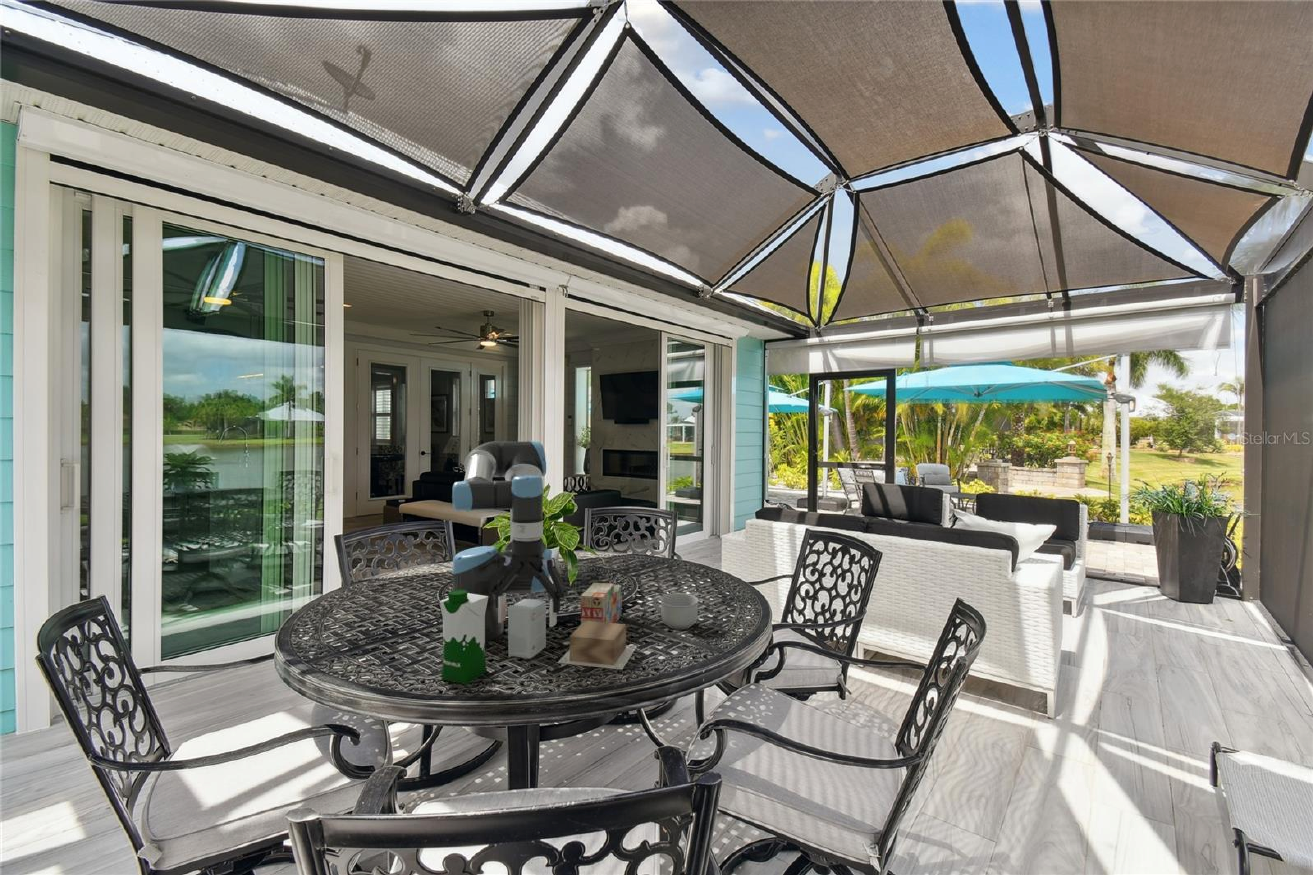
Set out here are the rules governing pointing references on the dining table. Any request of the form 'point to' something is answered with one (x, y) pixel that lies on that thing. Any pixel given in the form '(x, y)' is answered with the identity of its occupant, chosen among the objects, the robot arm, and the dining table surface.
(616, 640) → the walnut brick
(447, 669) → the milk carton
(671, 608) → the teacup
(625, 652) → the baseplate
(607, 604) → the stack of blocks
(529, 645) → the small box
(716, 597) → the dining table surface
